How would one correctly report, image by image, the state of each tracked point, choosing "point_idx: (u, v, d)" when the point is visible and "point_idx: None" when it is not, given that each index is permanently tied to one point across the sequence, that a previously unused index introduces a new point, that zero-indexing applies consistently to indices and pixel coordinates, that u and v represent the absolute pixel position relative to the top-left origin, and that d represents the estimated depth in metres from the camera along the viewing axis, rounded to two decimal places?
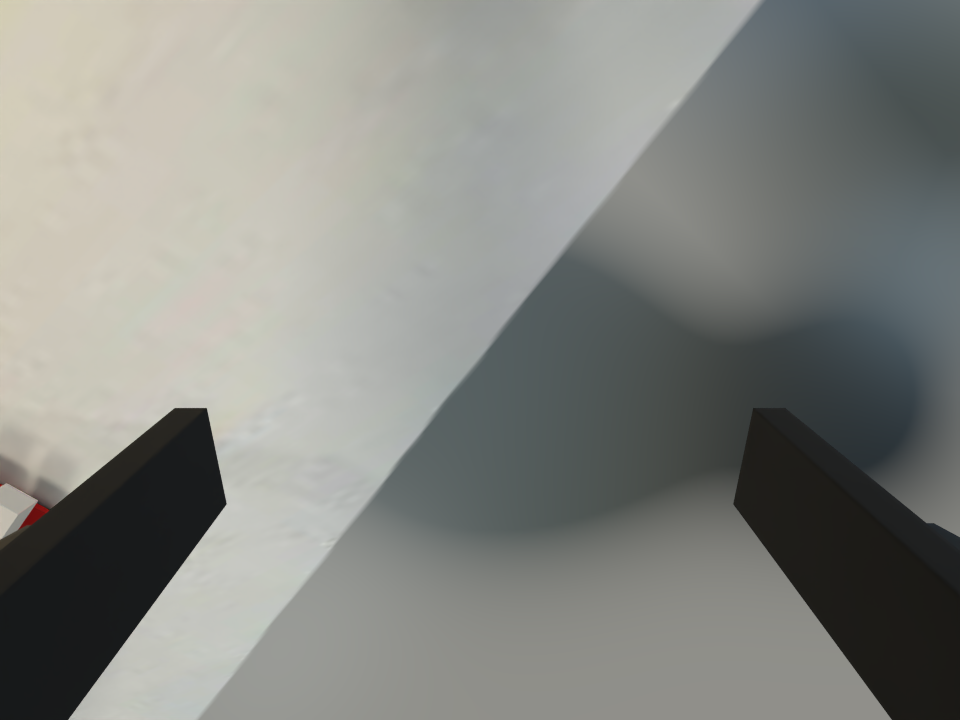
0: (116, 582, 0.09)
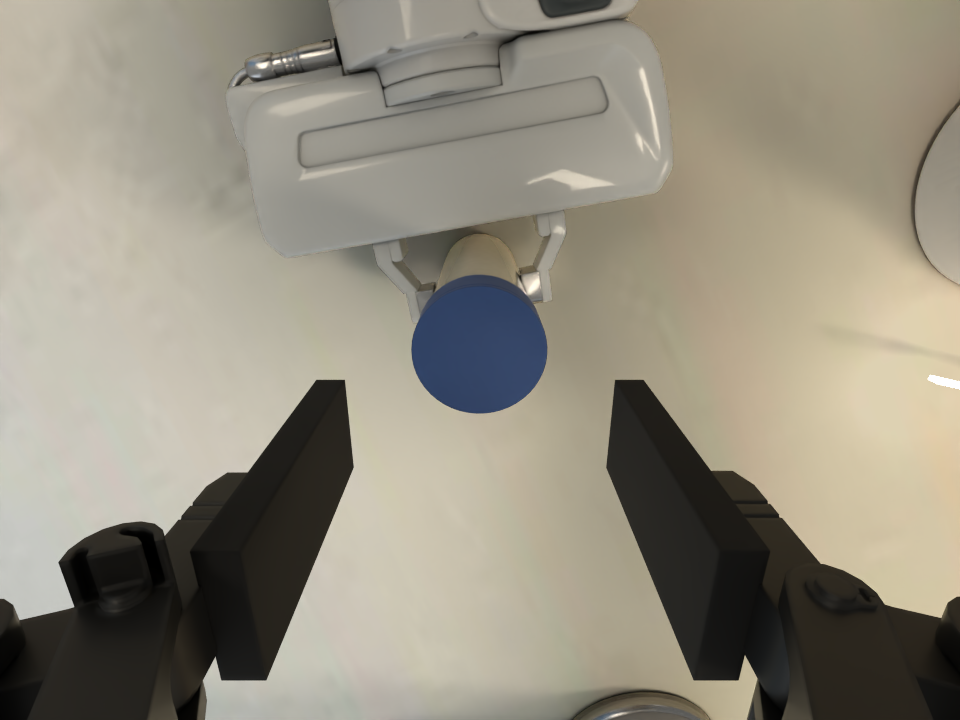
0: (307, 521, 0.11)
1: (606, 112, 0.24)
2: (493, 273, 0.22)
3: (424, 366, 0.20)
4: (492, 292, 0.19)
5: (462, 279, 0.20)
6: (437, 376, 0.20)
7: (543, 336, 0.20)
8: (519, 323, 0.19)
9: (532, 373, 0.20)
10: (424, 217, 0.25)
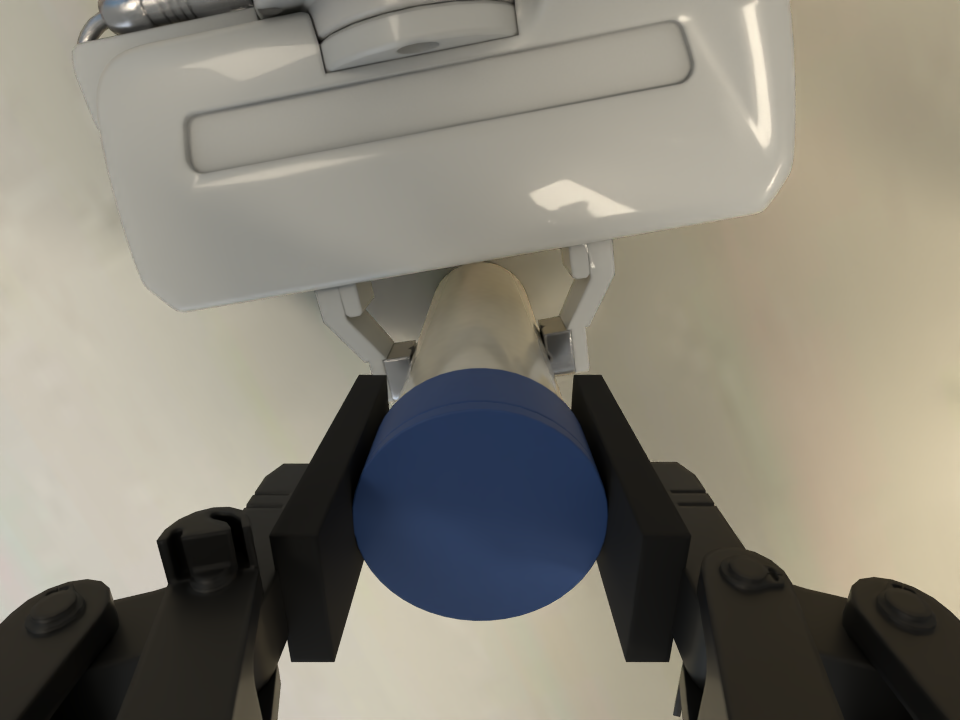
0: None
1: (690, 81, 0.14)
2: (504, 354, 0.13)
3: (377, 547, 0.11)
4: (505, 420, 0.10)
5: (448, 380, 0.11)
6: (402, 562, 0.11)
7: (602, 497, 0.10)
8: (557, 475, 0.10)
9: (579, 558, 0.11)
10: (392, 251, 0.16)
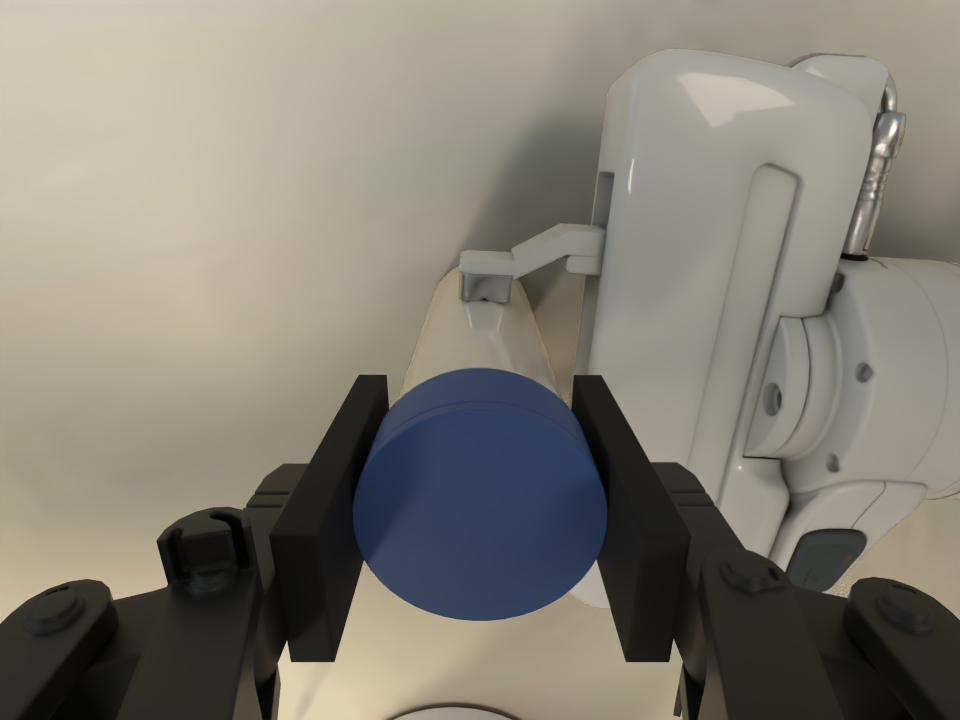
0: None
1: None
2: None
3: (377, 546, 0.11)
4: (506, 420, 0.10)
5: (449, 380, 0.11)
6: (401, 562, 0.11)
7: (602, 498, 0.10)
8: (557, 475, 0.10)
9: (578, 559, 0.11)
10: (624, 329, 0.17)
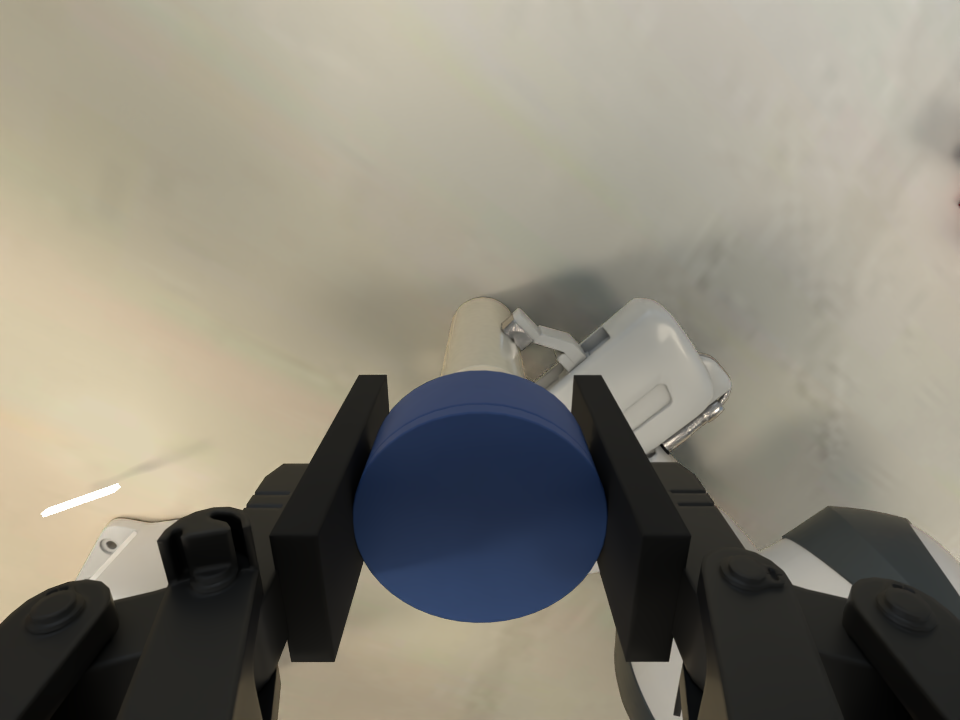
0: None
1: None
2: None
3: (377, 549, 0.11)
4: (505, 423, 0.10)
5: (449, 383, 0.11)
6: (402, 565, 0.11)
7: (602, 499, 0.10)
8: (557, 477, 0.10)
9: (579, 560, 0.11)
10: None
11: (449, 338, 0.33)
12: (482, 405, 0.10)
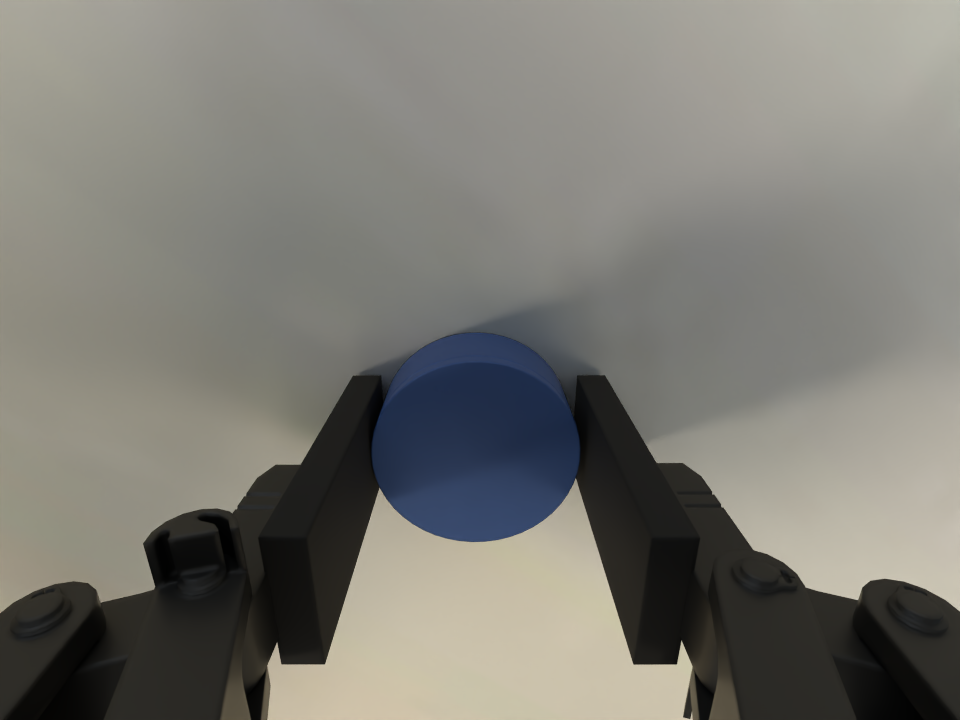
0: (353, 512, 0.11)
1: None
2: None
3: (391, 478, 0.13)
4: (496, 370, 0.12)
5: (449, 342, 0.13)
6: (412, 492, 0.13)
7: (575, 434, 0.13)
8: (538, 415, 0.12)
9: (557, 486, 0.13)
10: None
11: None
12: (477, 357, 0.12)
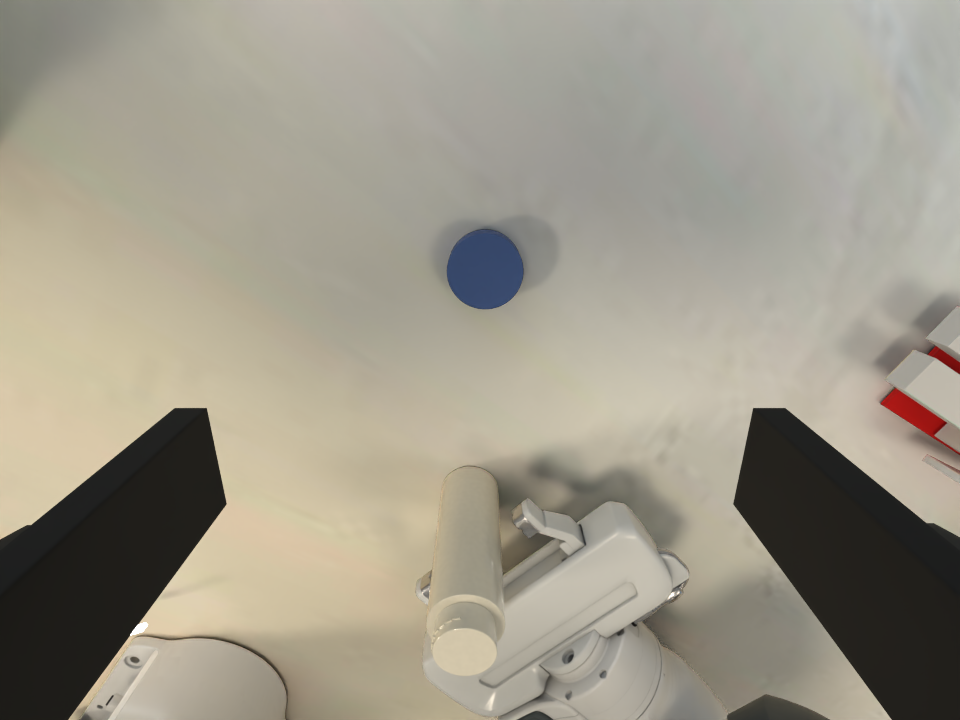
0: (116, 583, 0.09)
1: (478, 680, 0.40)
2: None
3: (454, 280, 0.35)
4: (492, 237, 0.34)
5: (475, 231, 0.36)
6: (461, 286, 0.35)
7: (520, 262, 0.35)
8: (507, 254, 0.35)
9: (515, 284, 0.35)
10: (542, 595, 0.37)
11: (439, 522, 0.38)
12: (485, 233, 0.34)
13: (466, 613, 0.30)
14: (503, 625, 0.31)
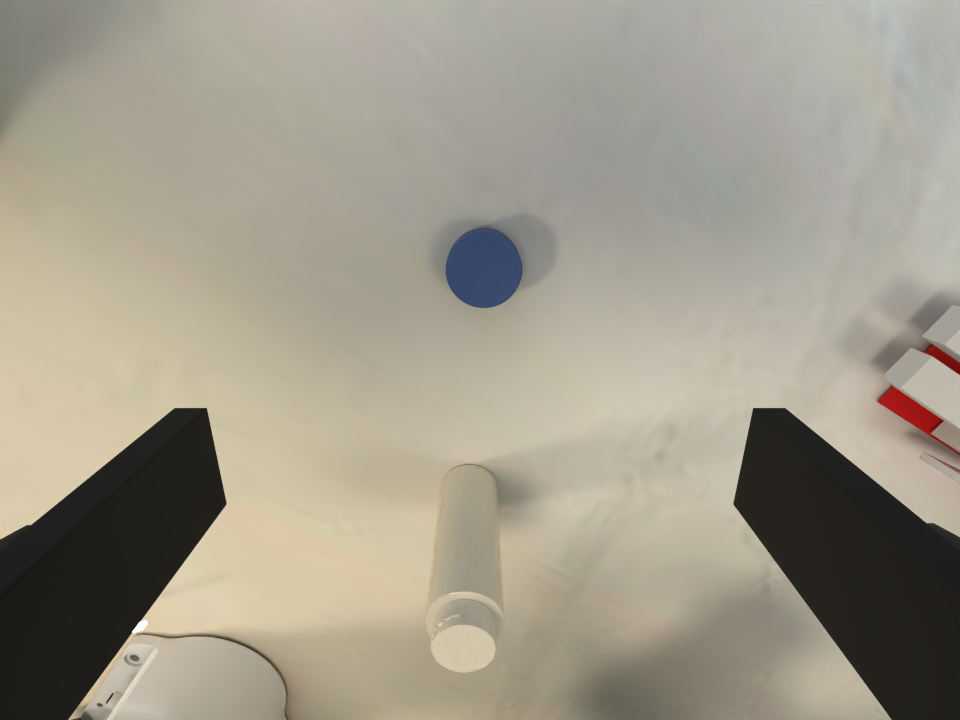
0: (116, 583, 0.09)
1: None
2: None
3: (453, 279, 0.35)
4: (491, 235, 0.34)
5: (474, 230, 0.36)
6: (460, 285, 0.36)
7: (519, 261, 0.35)
8: (506, 253, 0.35)
9: (513, 283, 0.35)
10: None
11: (438, 520, 0.38)
12: (484, 231, 0.35)
13: (465, 610, 0.30)
14: (502, 622, 0.31)
